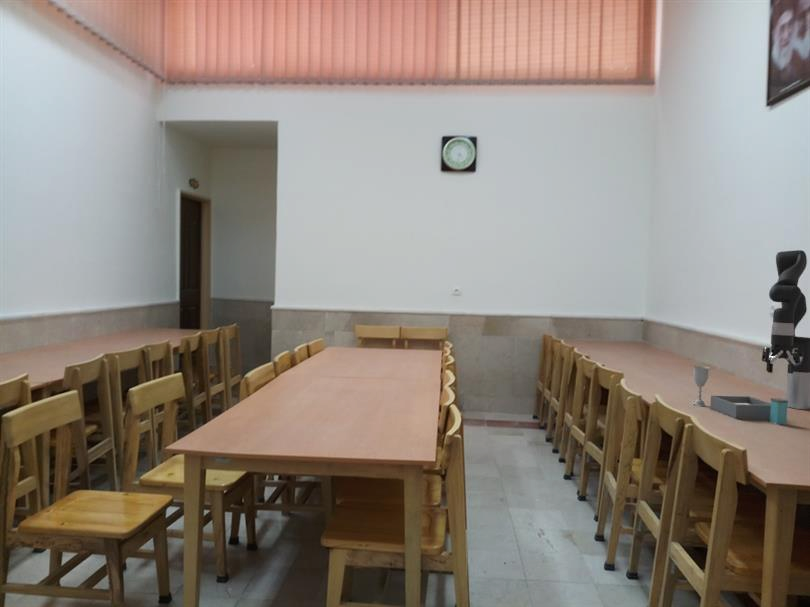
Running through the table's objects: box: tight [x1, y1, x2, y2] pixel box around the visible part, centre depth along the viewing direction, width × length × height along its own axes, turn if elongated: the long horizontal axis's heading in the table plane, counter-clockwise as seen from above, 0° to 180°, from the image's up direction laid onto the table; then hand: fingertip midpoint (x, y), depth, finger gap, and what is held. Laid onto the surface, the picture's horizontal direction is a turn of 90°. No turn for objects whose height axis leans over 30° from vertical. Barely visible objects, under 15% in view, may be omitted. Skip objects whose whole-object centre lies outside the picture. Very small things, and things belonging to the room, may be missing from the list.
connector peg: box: [769, 397, 788, 425], centre depth 223 cm, size 4×4×10 cm
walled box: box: [709, 395, 771, 420], centre depth 238 cm, size 18×18×6 cm
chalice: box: [692, 365, 710, 407], centre depth 254 cm, size 7×7×18 cm
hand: (779, 372), depth 223 cm, fingers open, 8 cm apart
